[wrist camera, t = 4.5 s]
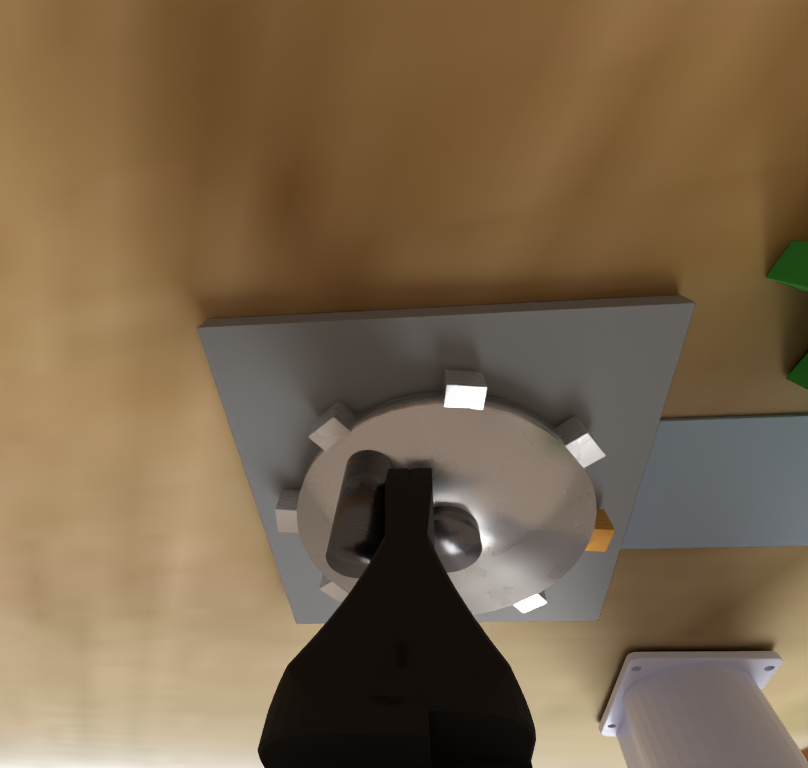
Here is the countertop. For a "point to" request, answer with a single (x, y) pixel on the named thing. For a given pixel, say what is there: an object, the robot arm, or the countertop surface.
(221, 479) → the countertop surface
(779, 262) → the pipe clamp
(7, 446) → the countertop surface
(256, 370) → the mount plate
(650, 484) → the mat
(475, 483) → the sprocket
